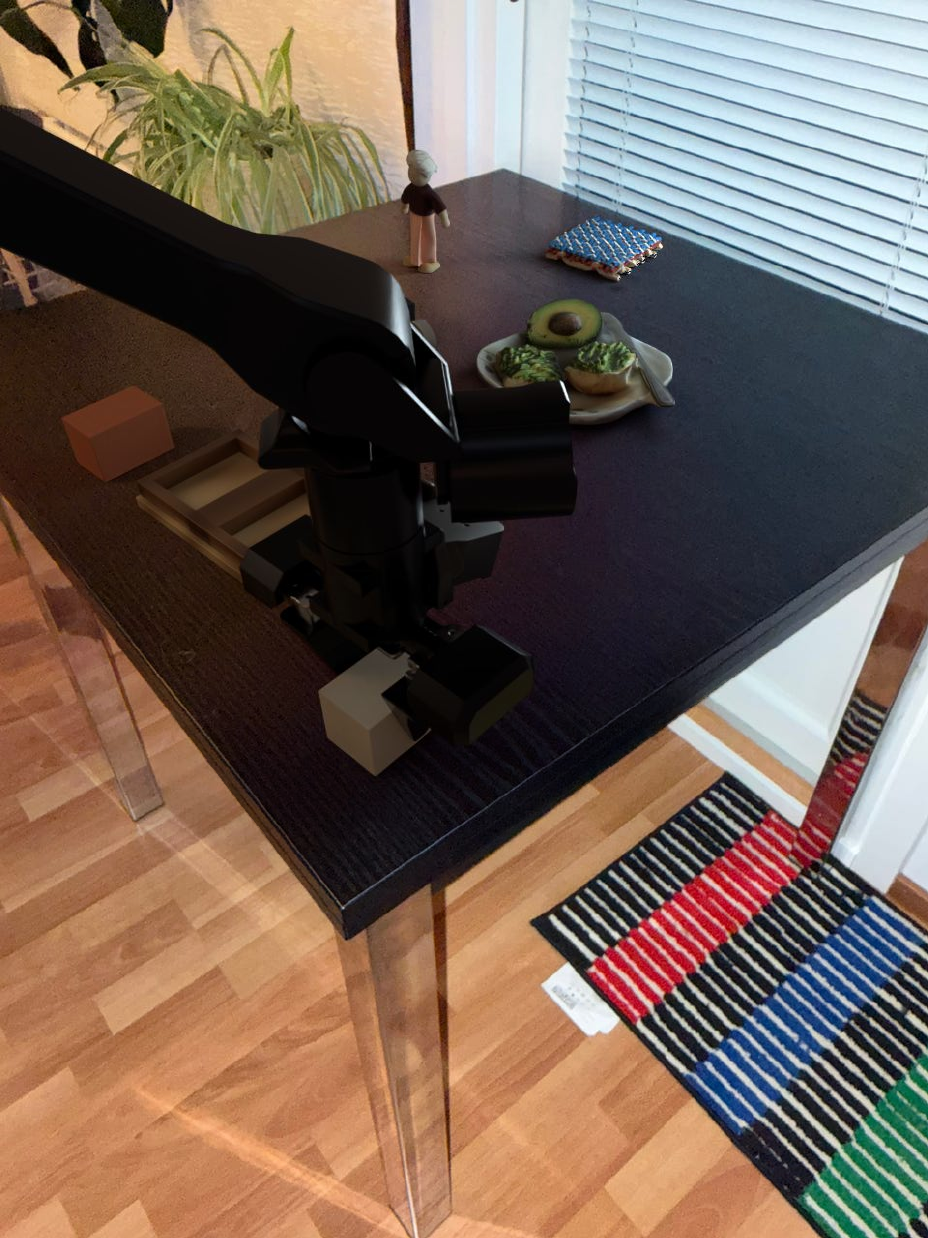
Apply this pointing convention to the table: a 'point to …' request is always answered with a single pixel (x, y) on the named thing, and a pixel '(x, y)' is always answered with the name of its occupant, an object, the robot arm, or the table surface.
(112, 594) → the table surface
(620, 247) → the woven mat
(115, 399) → the orange rectangular block
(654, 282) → the table surface
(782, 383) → the table surface
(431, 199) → the grandmother figurine
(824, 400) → the table surface
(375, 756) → the cream block
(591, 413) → the salad plate
